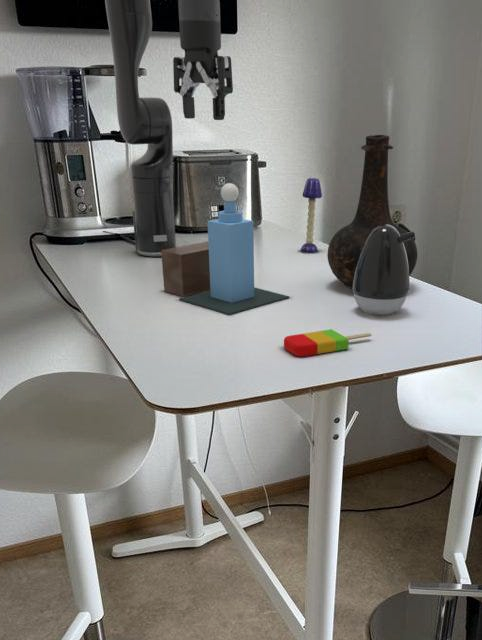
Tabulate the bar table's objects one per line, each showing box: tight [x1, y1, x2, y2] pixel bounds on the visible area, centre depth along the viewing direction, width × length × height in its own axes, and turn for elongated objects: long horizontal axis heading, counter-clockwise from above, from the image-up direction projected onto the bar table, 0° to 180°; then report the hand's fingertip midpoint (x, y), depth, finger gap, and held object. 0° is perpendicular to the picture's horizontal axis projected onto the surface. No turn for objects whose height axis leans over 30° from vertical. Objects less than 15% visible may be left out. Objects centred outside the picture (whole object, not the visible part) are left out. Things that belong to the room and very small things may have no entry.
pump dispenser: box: [352, 224, 417, 316], centre depth 124 cm, size 10×10×15 cm
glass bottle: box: [326, 134, 418, 289], centre depth 136 cm, size 18×18×28 cm
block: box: [161, 241, 210, 298], centre depth 139 cm, size 6×12×8 cm, turn 137°
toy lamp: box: [300, 177, 323, 254], centre depth 168 cm, size 5×5×17 cm
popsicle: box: [283, 328, 372, 358], centre depth 111 cm, size 6×15×2 cm, turn 116°
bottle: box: [207, 182, 255, 303], centre depth 130 cm, size 14×6×19 cm, turn 47°
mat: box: [178, 287, 290, 316], centre depth 135 cm, size 14×16×1 cm
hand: (203, 119), depth 135 cm, fingers open, 8 cm apart
